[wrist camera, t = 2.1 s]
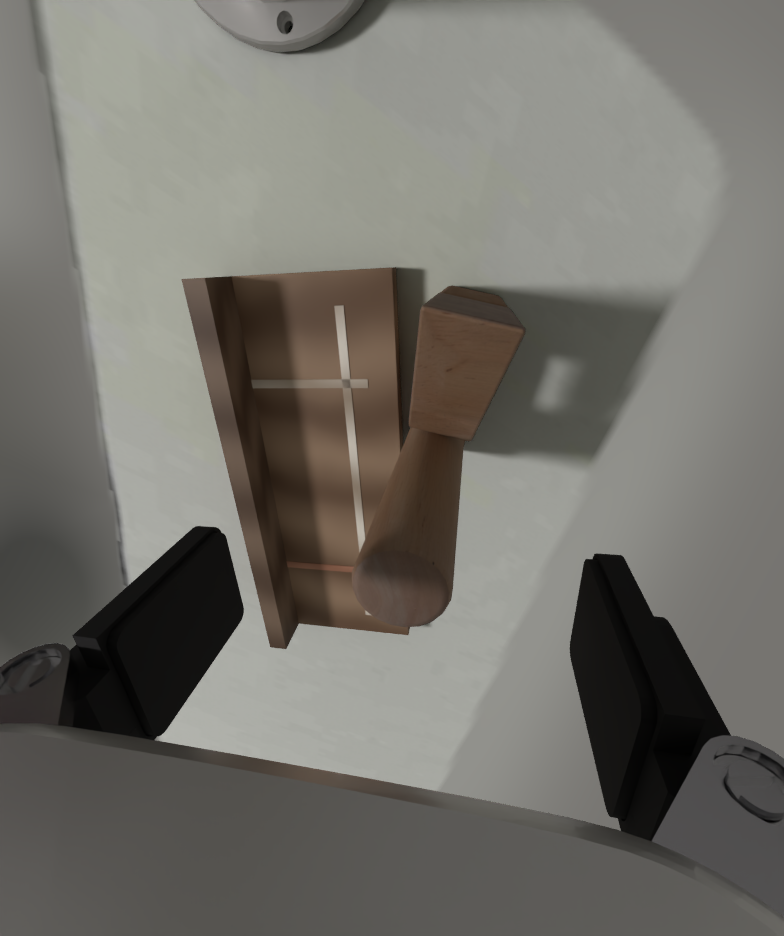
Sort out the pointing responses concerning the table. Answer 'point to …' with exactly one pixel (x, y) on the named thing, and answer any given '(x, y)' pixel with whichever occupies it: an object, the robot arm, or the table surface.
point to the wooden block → (434, 456)
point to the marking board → (304, 428)
